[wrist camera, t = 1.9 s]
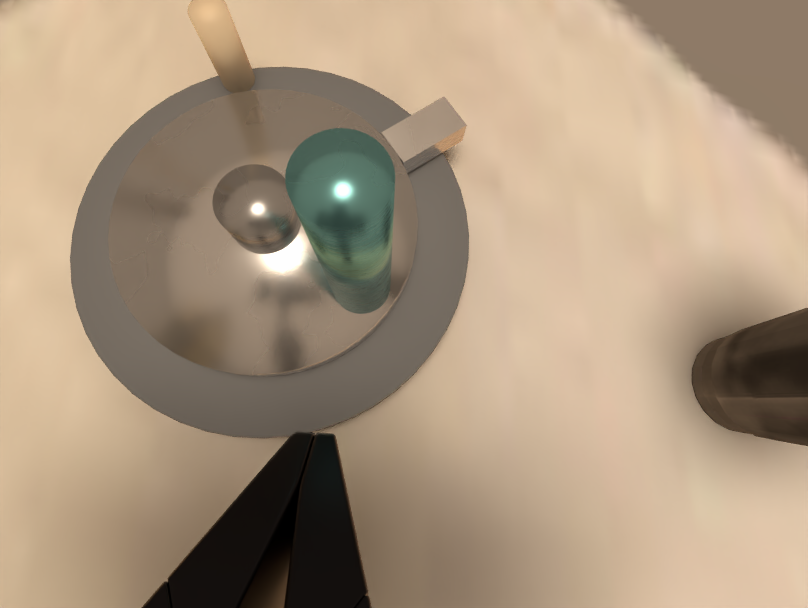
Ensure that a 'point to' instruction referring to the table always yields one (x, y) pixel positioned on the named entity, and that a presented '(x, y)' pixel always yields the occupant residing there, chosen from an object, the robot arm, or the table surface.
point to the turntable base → (286, 394)
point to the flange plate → (271, 228)
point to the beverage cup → (758, 379)
